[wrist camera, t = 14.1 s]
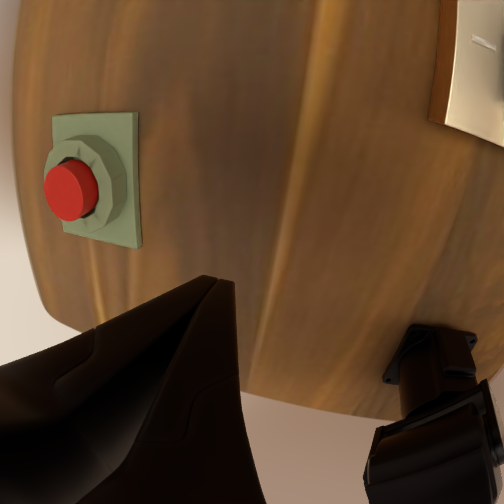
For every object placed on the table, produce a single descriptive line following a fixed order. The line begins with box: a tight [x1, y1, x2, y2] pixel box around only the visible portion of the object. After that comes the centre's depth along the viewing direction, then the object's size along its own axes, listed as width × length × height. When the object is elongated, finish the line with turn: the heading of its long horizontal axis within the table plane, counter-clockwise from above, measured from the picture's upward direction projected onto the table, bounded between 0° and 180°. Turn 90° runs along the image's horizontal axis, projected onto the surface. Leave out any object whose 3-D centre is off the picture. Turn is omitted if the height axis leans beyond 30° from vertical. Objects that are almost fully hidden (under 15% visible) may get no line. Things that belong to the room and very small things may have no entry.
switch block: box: [44, 112, 142, 249], centre depth 21 cm, size 10×8×2 cm
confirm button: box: [44, 160, 99, 222], centre depth 19 cm, size 4×4×2 cm
